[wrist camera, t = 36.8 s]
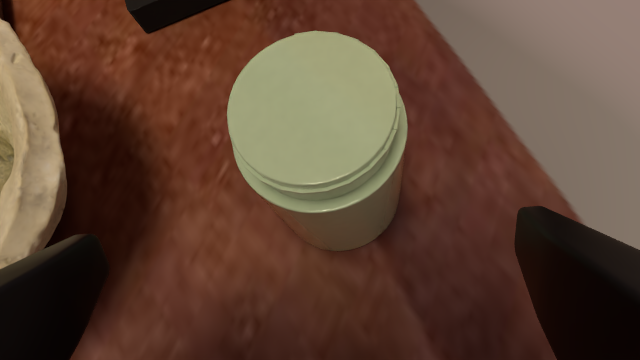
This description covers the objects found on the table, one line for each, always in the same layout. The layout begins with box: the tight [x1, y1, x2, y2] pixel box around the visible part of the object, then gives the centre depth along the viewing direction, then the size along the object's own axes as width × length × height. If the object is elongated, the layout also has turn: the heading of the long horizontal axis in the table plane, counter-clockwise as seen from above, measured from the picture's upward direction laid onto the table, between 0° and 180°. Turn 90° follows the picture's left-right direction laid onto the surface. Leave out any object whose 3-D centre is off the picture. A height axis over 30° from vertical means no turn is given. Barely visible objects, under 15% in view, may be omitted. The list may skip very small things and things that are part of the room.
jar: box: [227, 30, 408, 251], centre depth 17 cm, size 6×6×9 cm
